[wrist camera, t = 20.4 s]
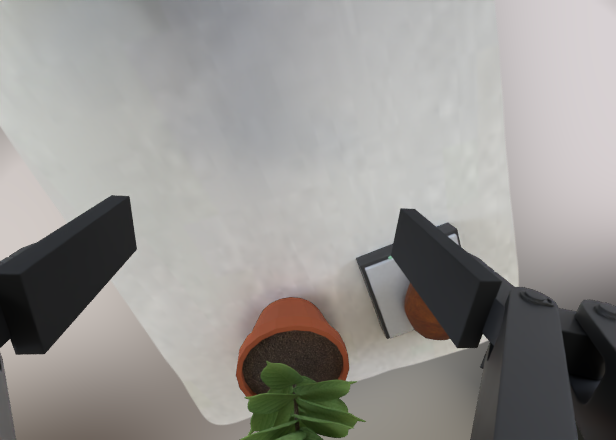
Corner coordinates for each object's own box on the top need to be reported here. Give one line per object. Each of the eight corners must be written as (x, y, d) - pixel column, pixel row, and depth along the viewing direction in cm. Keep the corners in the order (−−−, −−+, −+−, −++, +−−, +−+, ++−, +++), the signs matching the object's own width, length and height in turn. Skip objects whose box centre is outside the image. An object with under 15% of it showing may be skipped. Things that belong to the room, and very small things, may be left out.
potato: (401, 327, 46) (425, 371, 38) (387, 263, 42) (411, 298, 34) (450, 312, 46) (484, 353, 38) (441, 247, 42) (477, 278, 34)
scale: (355, 257, 44) (361, 268, 42) (448, 222, 44) (459, 230, 41) (382, 328, 49) (388, 342, 47) (464, 297, 49) (476, 309, 46)
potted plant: (357, 328, 49) (466, 627, 21) (280, 375, 51) (285, 706, 23) (304, 262, 44) (356, 543, 16) (221, 317, 46) (135, 654, 18)
